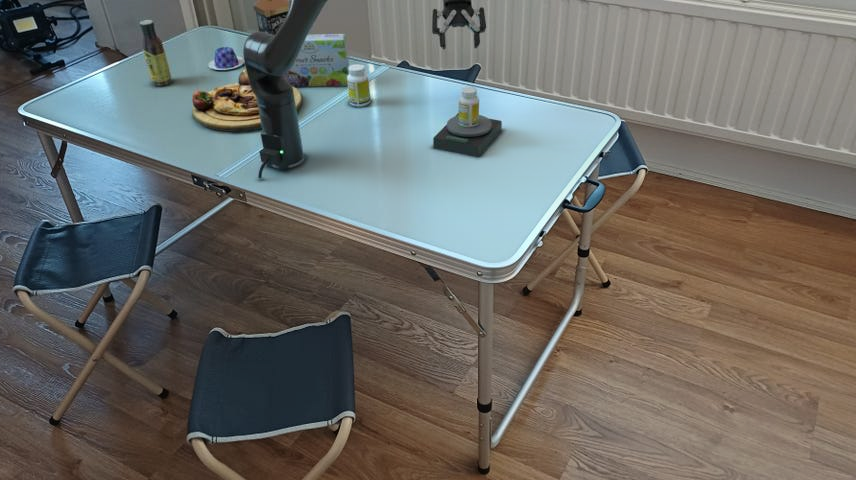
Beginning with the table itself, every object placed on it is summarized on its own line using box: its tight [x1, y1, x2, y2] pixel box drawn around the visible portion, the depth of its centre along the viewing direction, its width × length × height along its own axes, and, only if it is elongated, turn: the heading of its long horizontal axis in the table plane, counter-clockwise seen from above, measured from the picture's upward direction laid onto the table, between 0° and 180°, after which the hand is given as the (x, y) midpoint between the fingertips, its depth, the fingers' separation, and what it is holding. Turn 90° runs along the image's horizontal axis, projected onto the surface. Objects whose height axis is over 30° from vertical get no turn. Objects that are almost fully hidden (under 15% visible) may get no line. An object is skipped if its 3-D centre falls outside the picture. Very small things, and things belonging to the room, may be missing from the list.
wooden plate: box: [191, 69, 303, 132], centre depth 213 cm, size 32×32×8 cm
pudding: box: [208, 46, 245, 71], centre depth 242 cm, size 12×12×5 cm
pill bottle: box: [347, 63, 371, 108], centre depth 213 cm, size 6×6×11 cm
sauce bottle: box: [139, 19, 172, 87], centre depth 227 cm, size 7×6×20 cm
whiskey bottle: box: [253, 0, 290, 35], centre depth 233 cm, size 10×10×32 cm
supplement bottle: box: [458, 86, 480, 127], centre depth 191 cm, size 5×5×10 cm
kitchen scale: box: [432, 112, 503, 158], centre depth 194 cm, size 16×13×4 cm
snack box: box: [284, 33, 350, 88], centre depth 224 cm, size 21×6×15 cm, turn 89°
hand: (460, 47), depth 193 cm, fingers open, 8 cm apart
